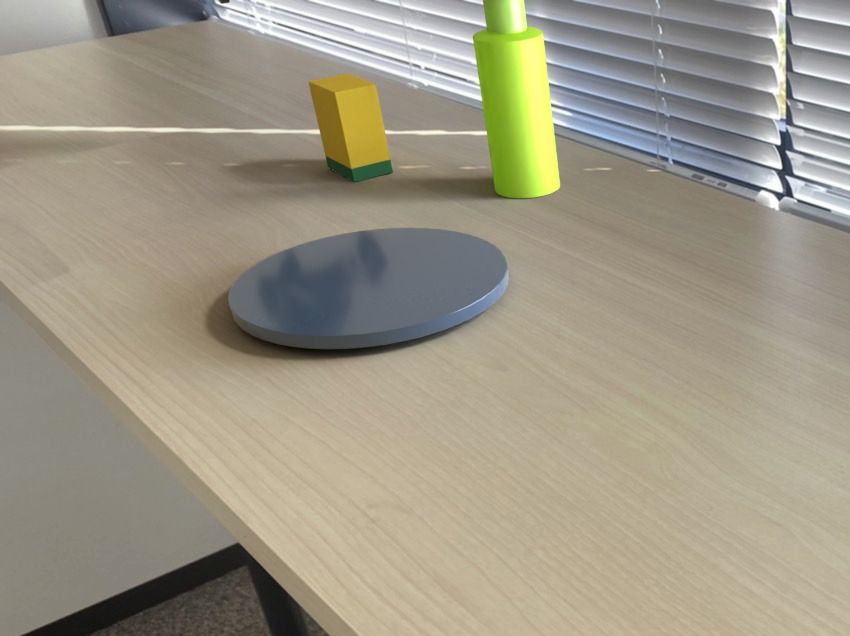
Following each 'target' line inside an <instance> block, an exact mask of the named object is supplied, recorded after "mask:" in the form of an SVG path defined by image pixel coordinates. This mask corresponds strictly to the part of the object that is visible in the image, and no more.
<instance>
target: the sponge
mask: <svg viewBox="0 0 850 636" xmlns="http://www.w3.org/2000/svg"><path fill="white" fill-rule="evenodd" d="M308 86H309V90H310V95H311V99H312V103H313V109H314V112H315V117H316V121H317V125H318V129H319V134H320V139H321V143H322V147H323V151H324V152H323V153H324V155H325V160H326V164H327V168H328V167H329V168H331V169H333V170H334V171H336V172H338V173H340V174H342V175H343V176H342V175H341V176H342V177H344V176H345V177H344V178H346V177H347V178H346V179H348V178H349V179H348V180H350V181H352V182H354V183H355V182H360V181H364V180H367V179H371V178H375V177H379V176H384V175H387V174H391V173H393V172H394V169H393V164H392V161H391V154H390V149H389V144H388V139H387V135H386V130H385V124H384V120H383V115H382V110H381V109H382V108H381V103H380V100H379V99H380V98H379V94H378V89H377V85H376V83H373V82H371V81H368V80H366V79H364V78H361V77H358V76H355V75H353V74H351V73H344V74H339V75H334V76H333V75H332V76H329V77H324V78H319V79H313V80H309V81H308ZM329 168H328V169H329ZM331 169H330V170H331ZM333 170H332V171H333ZM334 171H333V172H334ZM336 172H335V173H336ZM338 173H337V174H338ZM340 174H339V175H340Z"/></svg>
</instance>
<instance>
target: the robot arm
mask: <svg viewBox="0 0 850 636" xmlns="http://www.w3.org/2000/svg"><path fill="white" fill-rule="evenodd" d="M218 2H219V3H220V4H223V5H224V4H229V3H230V0H218Z"/></svg>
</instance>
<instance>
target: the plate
mask: <svg viewBox="0 0 850 636" xmlns="http://www.w3.org/2000/svg"><path fill="white" fill-rule="evenodd" d="M509 283H510V271H509V263H508V261H507V257H506V256H505V254H504V253H503V251H502V250H500V249H499V247H497V246H496V245H494V244H493V243H491V242H489V241H488V240H487V239H486V240H485V239H483V238H481V237H478V236H476V235H472V234H468V233H465V232H460V231H455V230H449V229H441V228H430V227H429V228H428V227H388V228H375V229H367V230H359V231H358V230H357V231H352V232H351V231H350V232H345V233H340V234H336V235H331V236H326V237H323V238H318V239H313V240H311V241H307V242H304V243H301V244H297V245H294V246H292V247H289V248H286V249H283V250H280V251H279V252H276V253H274V254H272V255H270V256H268V257H265V258H264V259H262V260H260V261H258V262H256V263H255V264H254V265H252V266H250V267H249V268H248V269H246V270H245V271H244V272H242V273H241V274H240V276H238V277H237V278H236V280H235V281H234V282H233V283H232V285H231V287H230V289H229V290H228V296H227V300H228V306H229V309H230V311H231V315H232V318H233V320H234V322H235V323H236V325H237V326H238V327H240V329H241V330H243V331H244V332H246V334H249V335H250V336H252V337H255V338H257V339H260V340H262V341H265V342H269V343H272V344H276V345H280V346H287V347H291V348H299V349H300V348H302V349H312V350H313V349H314V350H349V349H362V348H369V347H370V348H371V347H378V346H387V345H390V344H391V345H392V344H398V343H401V342H406V341H412V340H415V339H420V338H424V337H427V336H430V335H434V334H437V333H440V332H442V331H443V332H444V331H445V330H449V329H450V328H451V329H452V328H453V327H456V326H458V325H460V324H462V323H464V322H465V323H466V322H467V321H469V320H471V319H473V318H475V317H476V316H478V315H480V314H481V313H483V312H485V311H487V310H488V309H489V308H490V307H492V306H493V305H494V304H495V303H496V302H497V301H499V299H500V298H502V296H503V295H504V293H505V292H506V291H507V288H508V285H509Z"/></svg>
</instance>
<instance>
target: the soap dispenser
mask: <svg viewBox="0 0 850 636" xmlns="http://www.w3.org/2000/svg"><path fill="white" fill-rule="evenodd" d="M482 3H483V4H482V5H483V12H484V19H485V26H486V28H485V29H482V30H480V31H478V32H475V33H474V34H473V35H472V42H473V48H474V55H475V62H476V69H477V74H478V83H479V89H480V90H479V91H480V95H481V102H482V109H483V117H484V123H485V130H486V137H487V144H488V149H489V151H488V152H489V157H490V164H491V165H490V166H491V171H492V177H493V184H494V185H493V186H494V191H495V192H496V194H498V196H501V197H505V198H509V199H535V198H540V197H544V196H549V195H551V194H553V193H555V192H556V191H558V190H559V189H560V188H561V180H560V171H559V165H558V164H559V163H558V154H557V145H556V144H557V143H556V136H555V128H554V127H555V126H554V118H553V109H552V101H551V93H550V92H551V91H550V83H549V73H548V65H547V57H546V49H545V39H544V32H543V30H542V29H540V28H537V27H533V26H528V23H527V21H528V20H527V14H526V6H525V0H482Z"/></svg>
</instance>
